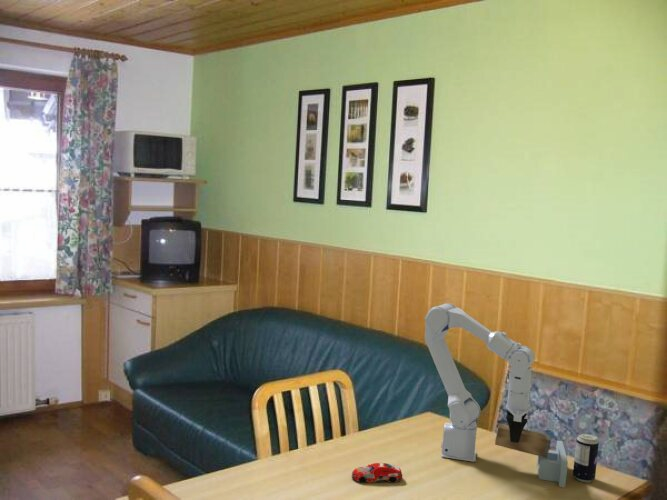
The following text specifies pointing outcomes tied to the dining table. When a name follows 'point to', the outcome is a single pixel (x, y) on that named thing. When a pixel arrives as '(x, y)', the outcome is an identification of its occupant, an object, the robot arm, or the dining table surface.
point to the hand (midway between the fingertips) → (514, 439)
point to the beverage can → (585, 457)
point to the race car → (377, 473)
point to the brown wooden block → (524, 441)
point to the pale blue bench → (554, 465)
